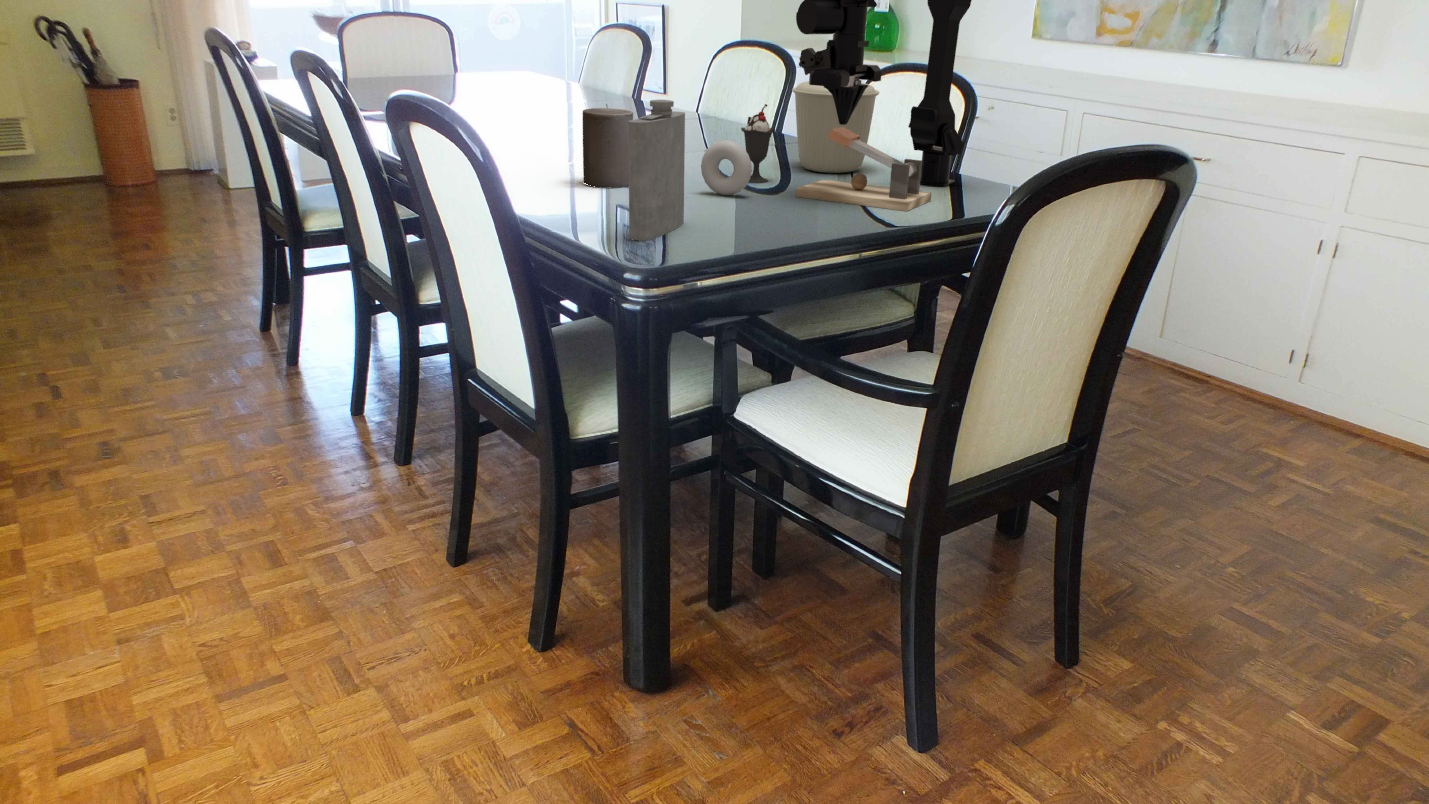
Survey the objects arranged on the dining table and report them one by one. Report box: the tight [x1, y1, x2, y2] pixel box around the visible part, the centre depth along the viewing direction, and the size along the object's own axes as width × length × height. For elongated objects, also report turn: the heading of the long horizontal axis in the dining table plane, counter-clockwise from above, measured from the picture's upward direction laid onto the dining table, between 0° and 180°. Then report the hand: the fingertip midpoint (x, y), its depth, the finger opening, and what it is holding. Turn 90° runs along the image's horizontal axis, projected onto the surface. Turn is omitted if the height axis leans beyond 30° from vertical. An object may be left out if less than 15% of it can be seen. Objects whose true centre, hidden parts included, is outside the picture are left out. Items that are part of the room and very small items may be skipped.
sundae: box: [740, 103, 776, 184], centre depth 205 cm, size 7×7×15 cm
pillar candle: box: [582, 103, 634, 189], centre depth 198 cm, size 10×10×15 cm
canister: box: [791, 80, 880, 174], centre depth 218 cm, size 18×18×21 cm
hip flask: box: [628, 99, 686, 242], centre depth 160 cm, size 16×4×20 cm, turn 158°
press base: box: [795, 158, 932, 212], centre depth 191 cm, size 12×22×8 cm, turn 59°
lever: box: [828, 127, 917, 177], centre depth 189 cm, size 5×17×2 cm, turn 59°
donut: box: [700, 139, 753, 196], centre depth 191 cm, size 10×4×10 cm, turn 65°
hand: (843, 124), depth 190 cm, fingers closed
